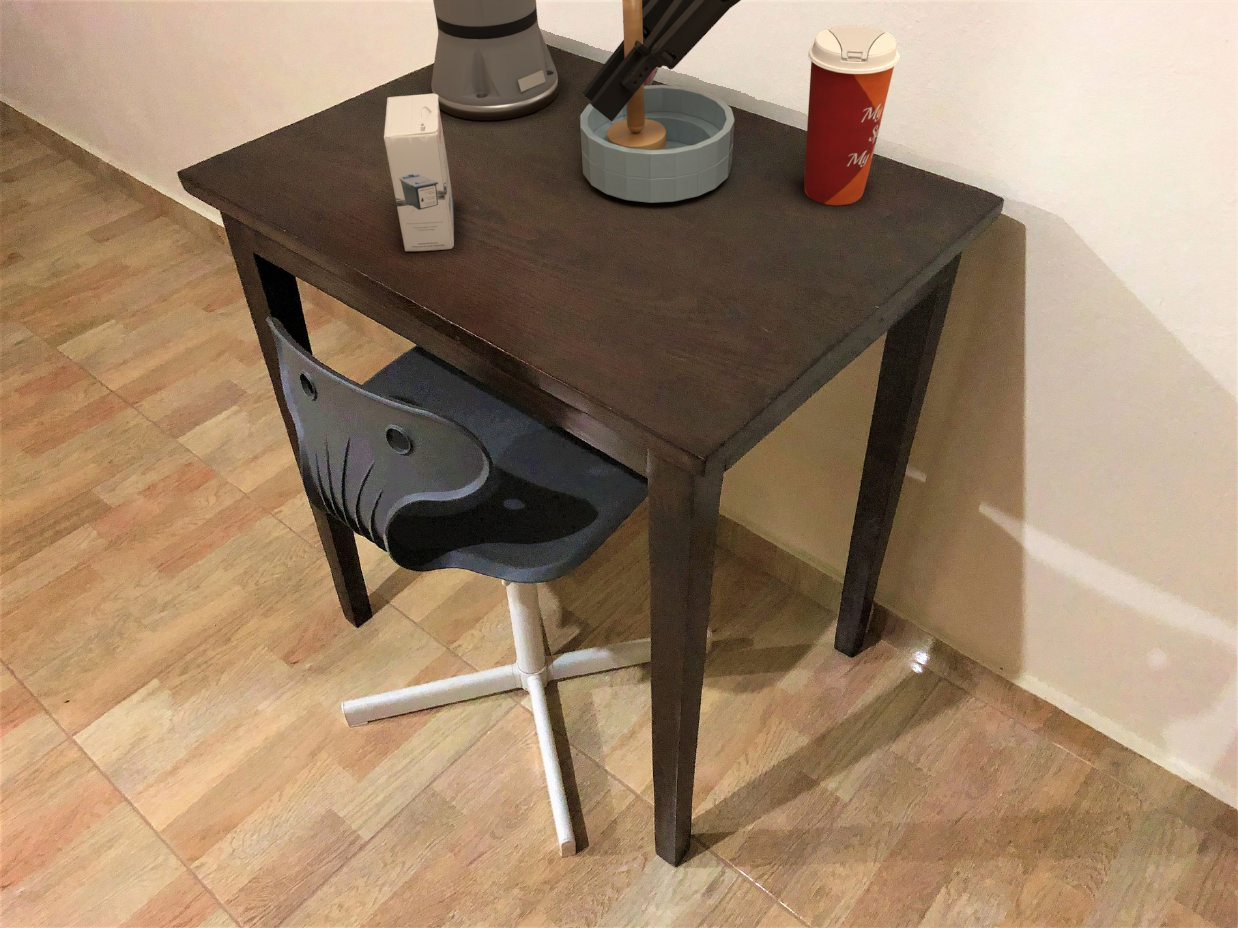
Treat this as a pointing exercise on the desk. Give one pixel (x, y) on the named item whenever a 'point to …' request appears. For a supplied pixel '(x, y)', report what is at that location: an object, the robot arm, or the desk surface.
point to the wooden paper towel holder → (636, 95)
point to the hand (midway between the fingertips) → (597, 107)
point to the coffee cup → (845, 109)
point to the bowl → (662, 175)
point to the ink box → (419, 172)
